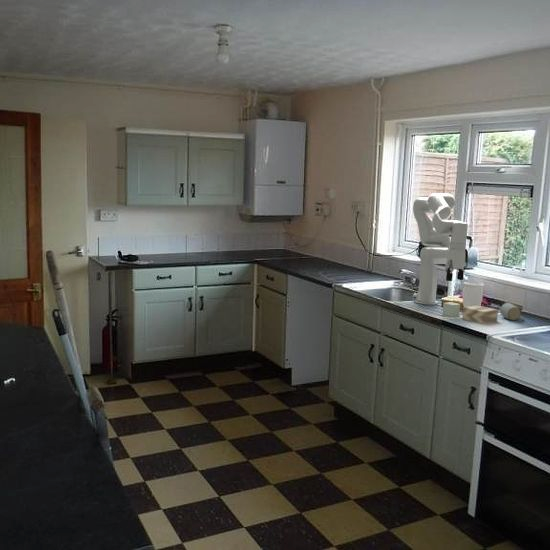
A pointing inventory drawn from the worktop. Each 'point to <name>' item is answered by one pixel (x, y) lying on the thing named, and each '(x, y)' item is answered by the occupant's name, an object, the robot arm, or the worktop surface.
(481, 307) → the birch block
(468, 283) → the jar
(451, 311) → the sage tub
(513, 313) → the ceramic mug
